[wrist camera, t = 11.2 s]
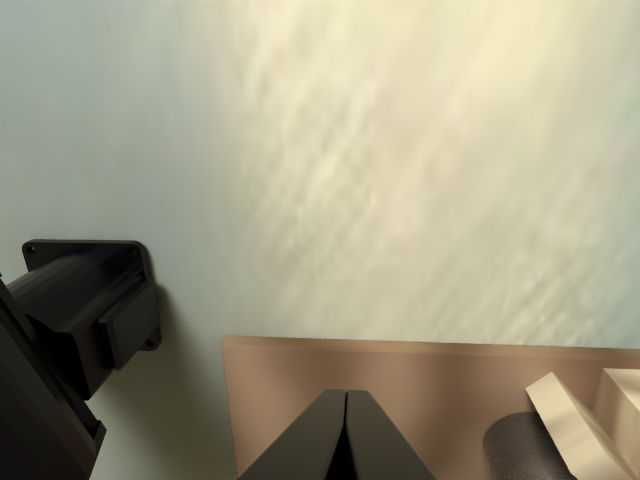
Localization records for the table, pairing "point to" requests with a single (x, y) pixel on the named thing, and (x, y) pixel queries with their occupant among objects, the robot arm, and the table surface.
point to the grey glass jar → (523, 450)
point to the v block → (594, 424)
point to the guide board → (403, 389)
